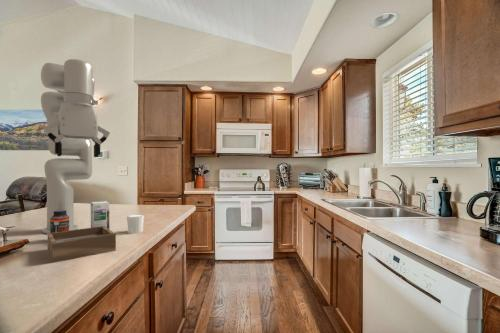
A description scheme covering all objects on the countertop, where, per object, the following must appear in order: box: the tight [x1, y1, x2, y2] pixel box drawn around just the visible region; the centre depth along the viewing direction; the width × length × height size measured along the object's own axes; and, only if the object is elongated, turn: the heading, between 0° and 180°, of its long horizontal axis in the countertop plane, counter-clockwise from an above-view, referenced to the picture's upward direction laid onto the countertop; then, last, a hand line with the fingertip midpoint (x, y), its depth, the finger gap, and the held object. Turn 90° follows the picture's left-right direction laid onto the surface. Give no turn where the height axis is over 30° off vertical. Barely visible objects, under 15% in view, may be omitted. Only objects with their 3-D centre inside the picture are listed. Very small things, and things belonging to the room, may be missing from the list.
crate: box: [47, 226, 117, 263], centre depth 88 cm, size 16×17×6 cm
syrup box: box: [90, 200, 111, 230], centre depth 102 cm, size 6×6×14 cm
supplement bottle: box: [50, 210, 69, 233], centre depth 100 cm, size 6×6×11 cm
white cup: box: [126, 213, 145, 234], centre depth 113 cm, size 7×7×7 cm
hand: (78, 156), depth 82 cm, fingers open, 9 cm apart
